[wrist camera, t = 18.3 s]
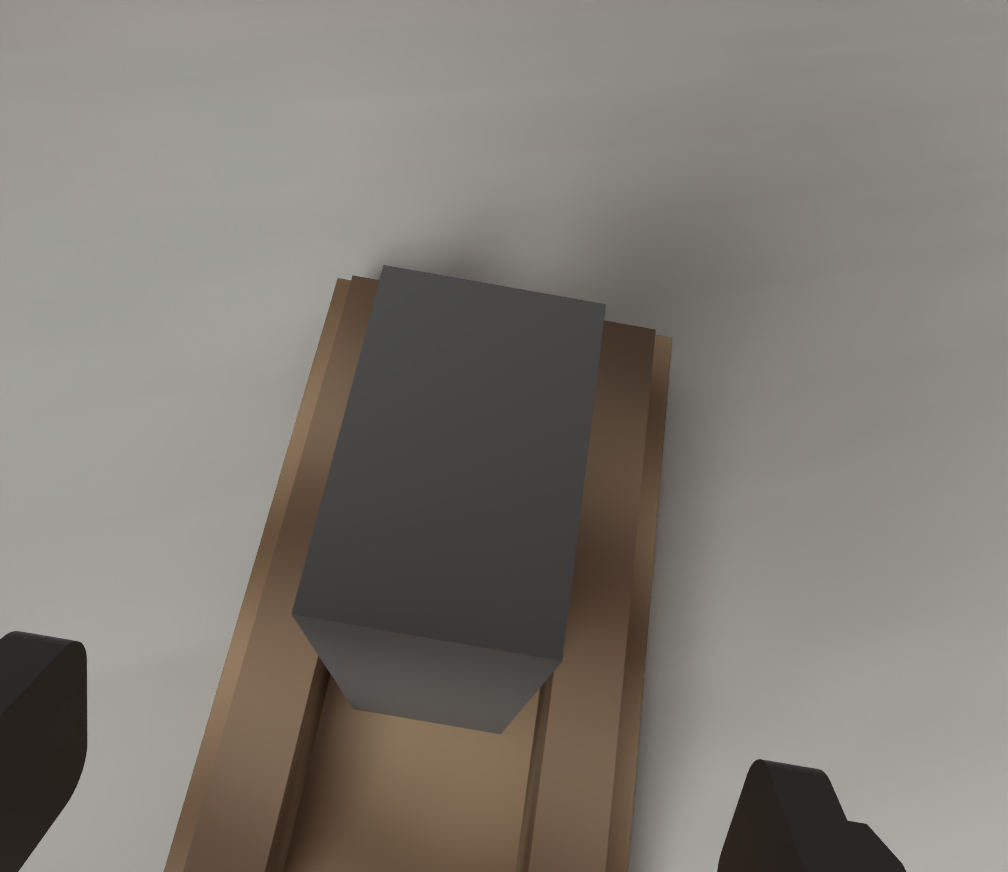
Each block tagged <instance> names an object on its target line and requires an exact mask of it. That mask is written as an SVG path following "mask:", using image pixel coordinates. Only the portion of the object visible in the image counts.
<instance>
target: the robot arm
mask: <svg viewBox="0 0 1008 872" xmlns="http://www.w3.org/2000/svg"><path fill="white" fill-rule="evenodd" d="M86 752H87V656H86V650H85V648H84V645H83V644H82V643H81V642H79V641H73V640H67V639H61V638H55V637H49V636H43V635H38V634H32V633H26V632H20V631H14V632H10V633H8V634H7V635H5V636H4V637H3V638H1V639H0V872H18V871H19V870H20V868H21V867H22V866H23V864H24V863H25V861H26V860H27V859H28V857H29V856H30V854H31V853H32V852H33V850H34V849H35V848H36V846H37V845H38V843H39V842H40V841H41V839H42V838H43V836H44V835H45V834H46V832H47V831H48V829H49V828H50V827H51V825H52V824H53V822H54V821H55V820H56V818H57V817H58V815H59V814H60V813H61V811H62V810H63V808H64V807H65V806H66V804H67V803H68V801H69V800H70V798H71V796H72V794H73V792H74V790H75V788H76V786H77V784H78V781H79V779H80V776H81V773H82V770H83V767H84V763H85V758H86ZM717 872H906V870H905V868H904V866H903V864H902V863H901V862H900V861H899V860H898V858H897V857H896V856H895V855H894V854H893V853H892V852H891V851H890V849H889V848H888V847H887V846H886V845H885V844H884V843H883V842H882V841H881V839H880V838H879V837H878V836H877V835H876V834H875V833H874V832H873V830H872V829H871V828H870V827H869V826H868V825H867V824H863V823H857V822H852V821H847V819H846V816H845V814H844V812H843V809H842V807H841V805H840V803H839V800H838V798H837V796H836V793H835V791H834V789H833V787H832V784H831V782H830V780H829V778H828V776H827V775H826V774H825V773H824V772H823V771H822V770H819V769H814V768H808V767H802V766H797V765H791V764H785V763H779V762H773V761H767V760H761V759H758V760H756V761H754V763H753V764H752V765H751V767H750V769H749V771H748V774H747V777H746V780H745V783H744V786H743V789H742V792H741V795H740V798H739V801H738V804H737V807H736V810H735V813H734V816H733V819H732V822H731V825H730V828H729V831H728V834H727V837H726V840H725V843H724V846H723V849H722V852H721V855H720V859H719V864H718V871H717Z"/></svg>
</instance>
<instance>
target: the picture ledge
mask: <svg viewBox="0 0 1008 872" xmlns="http://www.w3.org/2000/svg"><path fill="white" fill-rule="evenodd" d="M378 284H379V280H375V279H369V278H364V277H358V276H352V280H345V279H340V278H338V279H337V283H336V286H335V290H334V293H333V296H332V300H331V303H330V307H329V310H328V314H327V317H326V320H325V324H324V327H323V331H322V334H321V337H320V341H319V344H318V348H317V351H316V354H315V358H314V361H313V365H312V368H311V371H310V375H309V378H308V382H307V385H306V388H305V392H304V395H303V399H302V402H301V406H300V409H299V412H298V416H297V419H296V423H295V426H294V429H293V433H292V436H291V440H290V443H289V446H288V450H287V453H286V457H285V460H284V463H283V467H282V470H281V474H280V477H279V481H278V484H277V487H276V491H275V494H274V498H273V501H272V504H271V508H270V511H269V515H268V518H267V521H266V525H265V528H264V532H263V535H262V538H261V542H260V545H259V549H258V552H257V556H256V559H255V562H254V566H253V569H252V573H251V576H250V579H249V583H248V586H247V590H246V593H245V596H244V600H243V603H242V607H241V610H240V613H239V617H238V620H237V624H236V627H235V630H234V634H233V637H232V641H231V644H230V648H229V651H228V654H227V658H226V661H225V665H224V668H223V671H222V675H221V678H220V682H219V685H218V688H217V692H216V695H215V699H214V702H213V705H212V709H211V712H210V716H209V719H208V723H207V726H206V729H205V733H204V736H203V740H202V743H201V746H200V750H199V753H198V757H197V760H196V763H195V767H194V770H193V774H192V777H191V780H190V784H189V787H188V791H187V794H186V798H185V801H184V804H183V808H182V811H181V815H180V818H179V821H178V825H177V828H176V832H175V835H174V838H173V842H172V845H171V849H170V852H169V855H168V859H167V862H166V866H165V869H164V872H628V865H629V853H630V840H631V828H632V816H633V804H634V792H635V780H636V768H637V756H638V744H639V732H640V720H641V708H642V696H643V684H644V671H645V659H646V647H647V635H648V623H649V611H650V599H651V587H652V575H653V563H654V551H655V539H656V527H657V515H658V503H659V490H660V478H661V466H662V454H663V442H664V430H665V418H666V406H667V394H668V382H669V370H670V358H671V346H672V338H669V337H663V336H658V335H655V332H656V330H654V329H648V328H643V327H637V326H631V325H626V324H620V323H615V322H609V321H604V324H603V333H602V341H601V349H600V357H599V365H598V373H597V382H596V390H595V398H594V406H593V414H592V423H591V431H590V439H589V447H588V455H587V464H586V472H585V480H584V488H583V496H582V505H581V513H580V521H579V529H578V537H577V546H576V554H575V562H574V570H573V578H572V587H571V595H570V603H569V611H568V619H567V627H566V636H565V644H564V652H563V660H562V662H561V663H560V665H559V666H558V667H557V668H556V669H555V671H554V672H553V673H552V674H551V675H550V676H549V678H548V679H547V680H546V681H545V682H544V684H543V685H542V686H541V687H540V688H539V690H538V691H537V692H536V693H535V694H534V695H533V697H532V698H531V699H530V700H529V701H528V703H527V704H526V705H525V706H524V707H523V708H522V710H521V711H520V712H519V713H518V714H517V716H516V717H515V718H514V719H513V720H512V722H511V723H510V724H509V725H508V726H507V727H506V729H505V730H504V731H503V732H502V733H501V734H495V733H489V732H484V731H478V730H472V729H466V728H460V727H454V726H449V725H443V724H437V723H431V722H425V721H420V720H414V719H408V718H402V717H396V716H390V715H385V714H379V713H373V712H367V711H361V710H356V709H353V707H352V706H351V704H350V703H349V701H348V699H347V698H346V696H345V695H344V693H343V692H342V690H341V689H340V687H339V686H338V684H337V683H336V681H335V680H334V678H333V677H332V675H331V674H330V672H329V671H328V669H327V668H326V666H325V665H324V663H323V662H322V660H321V659H320V657H319V656H318V654H317V652H316V651H315V649H314V648H313V646H312V645H311V643H310V642H309V640H308V639H307V637H306V636H305V634H304V633H303V631H302V630H301V628H300V627H299V625H298V624H297V622H296V621H295V619H294V618H293V616H292V615H291V614H292V610H293V606H294V602H295V599H296V595H297V591H298V587H299V583H300V580H301V576H302V572H303V568H304V564H305V561H306V557H307V553H308V549H309V546H310V542H311V538H312V534H313V530H314V527H315V523H316V519H317V515H318V511H319V508H320V504H321V500H322V496H323V493H324V489H325V485H326V481H327V477H328V474H329V470H330V466H331V462H332V458H333V455H334V451H335V447H336V443H337V440H338V436H339V432H340V428H341V424H342V421H343V417H344V413H345V409H346V405H347V402H348V398H349V394H350V390H351V387H352V383H353V379H354V375H355V371H356V368H357V364H358V360H359V356H360V352H361V349H362V345H363V341H364V337H365V333H366V330H367V326H368V322H369V318H370V315H371V311H372V307H373V303H374V299H375V296H376V292H377V288H378Z"/></svg>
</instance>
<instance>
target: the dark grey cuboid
mask: <svg viewBox="0 0 1008 872" xmlns="http://www.w3.org/2000/svg"><path fill="white" fill-rule="evenodd" d="M605 308H606V305H605V304H600V303H594V302H588V301H583V300H577V299H572V298H566V297H560V296H555V295H549V294H543V293H538V292H532V291H526V290H521V289H515V288H510V287H504V286H498V285H493V284H487V283H481V282H476V281H470V280H464V279H459V278H453V277H448V276H442V275H436V274H431V273H425V272H419V271H414V270H408V269H402V268H397V267H391V266H386V265H383V269H382V273H381V277H380V280H379V284H378V288H377V292H376V296H375V299H374V303H373V307H372V311H371V315H370V318H369V322H368V326H367V330H366V333H365V337H364V341H363V345H362V349H361V352H360V356H359V360H358V364H357V368H356V371H355V375H354V379H353V383H352V387H351V390H350V394H349V398H348V402H347V405H346V409H345V413H344V417H343V421H342V424H341V428H340V432H339V436H338V440H337V443H336V447H335V451H334V455H333V458H332V462H331V466H330V470H329V474H328V477H327V481H326V485H325V489H324V493H323V496H322V500H321V504H320V508H319V511H318V515H317V519H316V523H315V527H314V530H313V534H312V538H311V542H310V546H309V549H308V553H307V557H306V561H305V564H304V568H303V572H302V576H301V580H300V583H299V587H298V591H297V595H296V599H295V602H294V606H293V610H292V614H291V615H292V616H293V618H294V619H295V621H296V622H297V624H298V625H299V627H300V628H301V630H302V631H303V633H304V634H305V636H306V637H307V639H308V640H309V642H310V643H311V645H312V646H313V648H314V649H315V651H316V652H317V654H318V656H319V657H320V659H321V660H322V662H323V663H324V665H325V666H326V668H327V669H328V671H329V672H330V674H331V675H332V677H333V678H334V680H335V681H336V683H337V684H338V686H339V687H340V689H341V690H342V692H343V693H344V695H345V696H346V698H347V699H348V701H349V703H350V704H351V706H352V707H353V709H356V710H361V711H367V712H373V713H379V714H385V715H390V716H396V717H402V718H408V719H414V720H420V721H425V722H431V723H437V724H443V725H449V726H454V727H460V728H466V729H472V730H478V731H484V732H489V733H495V734H501V733H502V732H503V731H504V730H505V729H506V727H507V726H508V725H509V724H510V723H511V722H512V720H513V719H514V718H515V717H516V716H517V714H518V713H519V712H520V711H521V710H522V708H523V707H524V706H525V705H526V704H527V703H528V701H529V700H530V699H531V698H532V697H533V695H534V694H535V693H536V692H537V691H538V690H539V688H540V687H541V686H542V685H543V684H544V682H545V681H546V680H547V679H548V678H549V676H550V675H551V674H552V673H553V672H554V671H555V669H556V668H557V667H558V666H559V665H560V663H561V662H562V660H563V652H564V644H565V636H566V627H567V619H568V611H569V603H570V595H571V587H572V578H573V570H574V562H575V554H576V546H577V537H578V529H579V521H580V513H581V505H582V496H583V488H584V480H585V472H586V464H587V455H588V447H589V439H590V431H591V423H592V414H593V406H594V398H595V390H596V382H597V373H598V365H599V357H600V349H601V341H602V333H603V324H604V316H605Z"/></svg>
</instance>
